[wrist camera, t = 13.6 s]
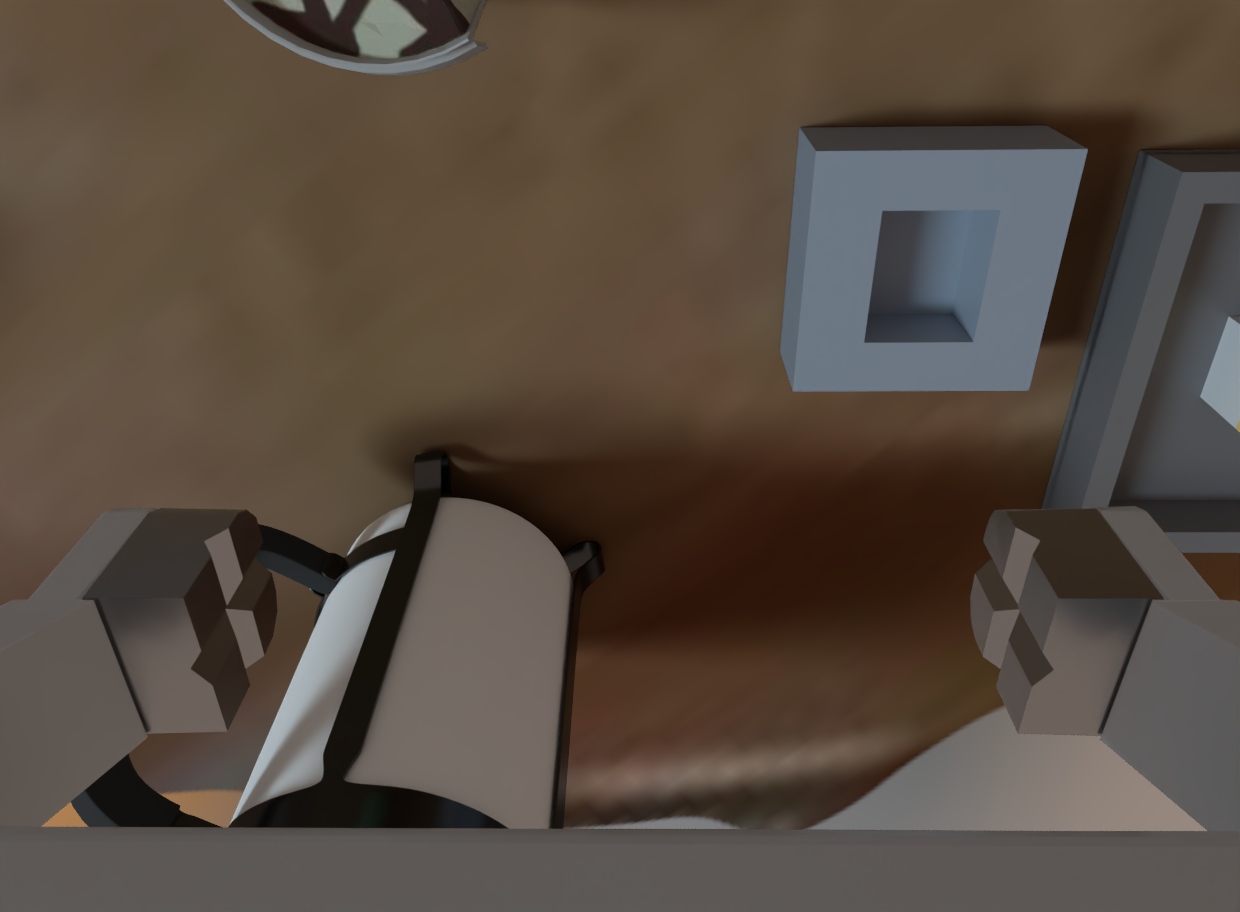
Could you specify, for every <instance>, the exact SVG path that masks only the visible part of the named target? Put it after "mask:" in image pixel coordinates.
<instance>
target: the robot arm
mask: <svg viewBox="0 0 1240 912" xmlns="http://www.w3.org/2000/svg"><path fill="white" fill-rule="evenodd" d="M983 542H984V544H985V546H986V548H987V550H988V552H989V553H990V555H991V557H992V558H991V559H990V560H989V561H988V562H987V563H986V564H985V565H984V566H983V567H981V568H980V569H979V570H978V571H977V572H976V573H975V577H974V582H973V587H972V592H971V597H970V603H971V624H972V628H973V632H974V636H975V640H976V642H977V645H978V647H979V649H980V652H981V654H982V656H983V657H984V658H986V659H987V660H989V661H990V662H991V663H993V664H994V665H996V666H997V667H998V668H1000V669H1001V670H1000V674H999V677H998V681H997V685H996V687H997V689H998V691H999V694H1000V696H1001V698H1002V700H1003V702H1004V704H1005V706H1006V709H1007V711H1008V713H1009V715H1010V717H1011V719H1012V721H1013V723H1014V726H1015V728H1016V730H1017V732H1018V733H1019V734H1053V735H1087V736H1101V739H1100V740H1101V741H1103V742H1104V743H1105V744H1106V745H1107V746H1108V747H1110V748H1111V749H1112V750H1113V751H1114V752H1115V753H1117V754H1118V755H1119V756H1120V757H1121V758H1123V759H1124V760H1125V761H1126V762H1127V763H1128V764H1130V765H1131V766H1132V767H1133V768H1134V769H1135V770H1137V771H1138V772H1139V773H1140V774H1141V775H1143V776H1144V777H1145V778H1146V779H1147V780H1149V781H1150V782H1151V783H1152V784H1153V785H1154V786H1156V787H1157V788H1158V789H1159V790H1160V791H1161V792H1163V793H1164V794H1165V795H1166V796H1167V797H1168V798H1170V799H1171V800H1172V801H1173V802H1174V803H1176V804H1177V805H1178V806H1179V807H1180V808H1181V809H1183V810H1184V811H1185V812H1186V813H1187V814H1188V815H1190V816H1191V817H1192V818H1193V819H1195V820H1196V821H1197V822H1198V823H1199V824H1200V825H1201V826H1203V827H1204V828H1205V829H1206V830H1207V831H942V830H940V831H939V830H936V831H935V830H931V831H930V830H775V829H480V828H219V827H41V826H42V825H43V824H44V823H46V822H47V821H48V820H49V819H50V818H52V817H53V816H54V815H55V814H56V813H58V812H59V811H60V810H61V809H62V808H64V807H65V806H66V805H67V804H68V803H70V802H71V801H72V800H73V799H74V798H76V797H77V796H78V795H79V794H80V793H82V792H83V791H84V790H85V789H86V788H88V787H89V786H90V785H91V784H92V783H94V782H95V781H96V780H97V779H98V778H100V777H101V776H102V775H103V774H104V773H106V772H107V771H108V770H109V769H110V768H112V767H113V766H114V765H115V764H116V763H118V762H119V761H120V760H121V759H122V758H124V757H125V756H126V755H127V754H128V753H129V752H131V751H132V750H133V749H134V748H135V747H137V746H138V745H139V744H140V743H141V742H143V741H144V740H145V739H146V738H147V734H146V733H185V732H226V731H228V729H229V727H230V725H231V723H232V721H233V719H234V717H235V715H236V713H237V711H238V709H239V707H240V705H241V703H242V701H243V699H244V697H245V694H246V692H247V690H248V688H249V686H250V683H249V679H248V676H247V673H246V668H247V667H248V666H250V665H251V664H253V663H254V662H256V661H257V660H258V659H260V658H261V657H263V656H264V655H265V653H266V651H267V648H268V646H269V644H270V642H271V640H272V637H273V633H274V628H275V622H276V616H277V598H276V589H275V585H274V581H273V577H272V573H271V572H270V571H269V570H267V569H266V568H265V567H264V566H263V565H262V564H261V563H260V562H258V561H257V560H256V559H255V558H254V557H255V556H256V554H257V552H258V550H259V548H260V547H261V545H262V543H263V539H262V535H261V532H260V529H259V525H258V522H257V519H256V517H255V516H254V515H253V514H251V513H250V512H249V511H247V510H227V509H175V508H160V509H155V508H115V509H112V510H108V511H105V512H103V513H102V514H101V515H100V517H99V518H98V519H97V520H96V521H95V522H94V524H93V525H92V526H91V527H90V528H89V529H88V530H87V532H86V533H85V534H84V535H83V536H82V537H81V539H80V540H79V541H78V542H77V543H76V544H75V546H74V547H73V548H72V549H71V550H70V551H69V553H68V554H67V555H66V556H65V557H64V558H63V560H62V561H61V562H60V563H59V564H58V565H57V566H56V568H55V569H54V570H53V571H52V572H51V573H50V575H49V576H48V577H47V578H46V579H45V580H44V582H43V583H42V584H41V585H40V586H39V587H38V589H37V590H36V591H35V592H34V593H33V594H32V595H31V597H30V598H29V599H28V600H12V601H10V602H8V603H6V604H4V605H2V606H0V912H1240V602H1238V601H1236V600H1220V599H1219V598H1218V597H1217V595H1216V594H1215V593H1214V592H1213V591H1212V589H1211V588H1210V587H1209V586H1208V585H1207V583H1206V582H1205V581H1204V580H1203V579H1202V577H1201V576H1200V575H1199V574H1198V573H1197V571H1196V570H1195V569H1194V568H1193V567H1192V565H1191V564H1190V563H1189V562H1188V561H1187V559H1186V558H1185V557H1184V556H1183V555H1182V553H1181V552H1180V551H1179V550H1178V549H1177V547H1176V546H1175V545H1174V544H1173V543H1172V541H1171V540H1170V539H1169V538H1168V537H1167V535H1166V534H1165V533H1164V532H1163V531H1162V529H1161V528H1160V527H1159V526H1158V525H1157V523H1156V522H1155V521H1154V520H1153V519H1152V517H1151V516H1150V515H1149V514H1148V513H1147V512H1146V511H1145V510H1142V509H1140V508H1138V507H1136V506H1122V507H1091V508H1087V509H1029V510H994V512H993V514H992V516H991V517H990V519H989V521H988V523H987V527H986V531H985V535H984V539H983Z"/></svg>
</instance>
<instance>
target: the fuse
mask: <svg viewBox="0 0 1240 912" xmlns="http://www.w3.org/2000/svg"><path fill="white" fill-rule="evenodd" d="M1200 397H1201V398H1202V399H1203V400H1204V401H1205V402H1206V403H1208V404H1209V405H1210V406H1211V407H1212V408H1213V409H1214V410H1215V411H1216V412H1218V413H1219V414H1220V415H1221V416H1222V417H1223V418H1224V419H1225V420H1227V421H1228V422H1229V423H1230V424H1231V425H1232V426H1233V427H1234V428H1235V429H1237V430H1238V431H1239V432H1240V316H1229V317H1228V320H1227V323H1226V326H1225V328H1224V331H1223V334H1222V337H1221V340H1220V342H1219V345H1218V348H1217V351H1216V354H1215V356H1214V359H1213V362H1212V365H1211V368H1210V370H1209V373H1208V376H1207V379H1206V382H1205V384H1204V387H1203V390H1202V393H1201V396H1200Z"/></svg>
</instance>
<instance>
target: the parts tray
mask: <svg viewBox="0 0 1240 912" xmlns="http://www.w3.org/2000/svg"><path fill="white" fill-rule="evenodd" d="M1229 316H1240V149H1215V150H1139V154H1138V157H1137V161H1136V164H1135V168H1134V172H1133V175H1132V179H1131V183H1130V186H1129V190H1128V194H1127V197H1126V201H1125V205H1124V208H1123V212H1122V216H1121V219H1120V223H1119V227H1118V230H1117V234H1116V238H1115V241H1114V245H1113V249H1112V252H1111V256H1110V260H1109V263H1108V267H1107V271H1106V274H1105V278H1104V281H1103V285H1102V289H1101V292H1100V296H1099V300H1098V303H1097V307H1096V311H1095V314H1094V318H1093V322H1092V325H1091V329H1090V333H1089V336H1088V340H1087V344H1086V347H1085V351H1084V355H1083V358H1082V362H1081V366H1080V369H1079V373H1078V377H1077V380H1076V384H1075V387H1074V391H1073V395H1072V398H1071V402H1070V406H1069V409H1068V413H1067V417H1066V420H1065V424H1064V428H1063V431H1062V435H1061V439H1060V442H1059V446H1058V450H1057V453H1056V457H1055V461H1054V464H1053V468H1052V472H1051V475H1050V479H1049V483H1048V486H1047V490H1046V494H1045V497H1044V501H1043V504H1042V508H1041V509H1087V508H1091V507H1122V506H1136V507H1138V508H1140V509H1142V510H1145V511H1146V512H1147V513H1148V514H1149V515H1150V516H1151V517H1152V519H1153V520H1154V521H1155V522H1156V523H1157V525H1158V526H1159V527H1160V528H1161V529H1162V531H1163V532H1164V533H1165V534H1166V535H1167V537H1168V538H1169V539H1170V540H1171V541H1172V543H1173V544H1174V545H1175V546H1176V547H1177V549H1178V550H1179V551H1180V552H1181V553H1240V432H1239V431H1238V430H1237V429H1235V428H1234V427H1233V426H1232V425H1231V424H1230V423H1229V422H1228V421H1227V420H1225V419H1224V418H1223V417H1222V416H1221V415H1220V414H1219V413H1218V412H1216V411H1215V410H1214V409H1213V408H1212V407H1211V406H1210V405H1209V404H1208V403H1206V402H1205V401H1204V400H1203V399H1202V398H1201V397H1200V396H1201V393H1202V390H1203V387H1204V384H1205V382H1206V379H1207V376H1208V373H1209V370H1210V368H1211V365H1212V362H1213V359H1214V356H1215V354H1216V351H1217V348H1218V345H1219V342H1220V340H1221V337H1222V334H1223V331H1224V328H1225V326H1226V323H1227V320H1228V317H1229Z"/></svg>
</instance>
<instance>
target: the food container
mask: <svg viewBox="0 0 1240 912" xmlns="http://www.w3.org/2000/svg"><path fill="white" fill-rule="evenodd" d="M224 1H225V2H226V3H227V4H228V5H229V6H230V7H231V8H232V9H233V10H234V11H236V12H237V13H238V14H239V15H240V16H241V17H242V18H243V19H244V20H245V21H247V22H248V23H250V24H251V25H252V26H254V27H255V28H256V29H258V30H259V31H261V32H262V33H263V34H265V35H266V36H267V37H269V38H270V39H272V40H273V41H275V42H277V43H279V44H281V45H283V46H285V47H286V48H288V49H290V50H292V51H294V52H296V53H298V54H300V55H301V56H304V57H307V58H310V59H312V60H315V61H318V62H321V63H324V64H326V65H329V66H332V67H337V68H342V69H347V70H352V71H358V72H363V73H369V74H374V75H410V74H417V73H423V72H430V71H436V70H439V69H442V68H445V67H448V66H451V65H454V64H457V63H460V62H463V61H465V60H467V59H469V58H471V57H473V56H474V55H476V54H478V53H480V52H482V51H484V50H486V49H487V48H488V46H487V44H486V43H483V42H478V41H475V39H474V38H473V36H474V33H475V31H476V28H477V25H478V23H479V20H480V17H481V15H482V12H483V9H484V7H485V4H486V1H487V0H224Z"/></svg>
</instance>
